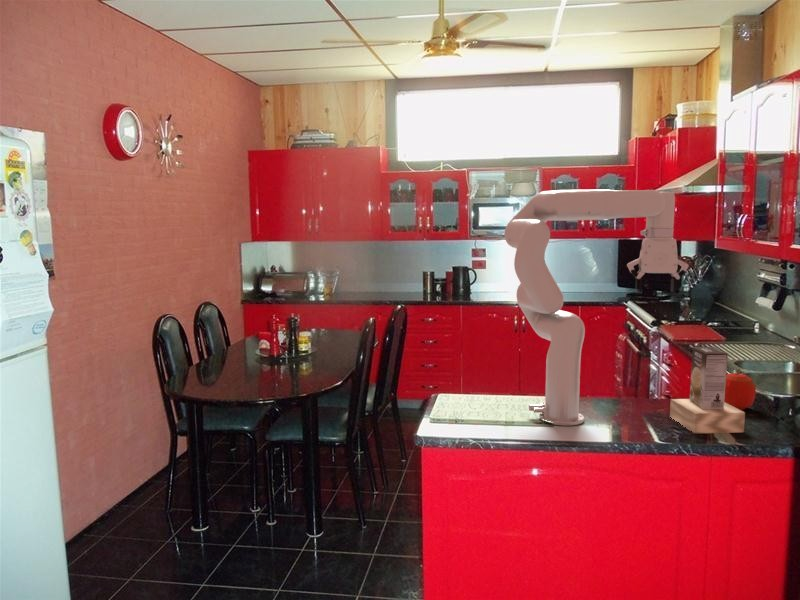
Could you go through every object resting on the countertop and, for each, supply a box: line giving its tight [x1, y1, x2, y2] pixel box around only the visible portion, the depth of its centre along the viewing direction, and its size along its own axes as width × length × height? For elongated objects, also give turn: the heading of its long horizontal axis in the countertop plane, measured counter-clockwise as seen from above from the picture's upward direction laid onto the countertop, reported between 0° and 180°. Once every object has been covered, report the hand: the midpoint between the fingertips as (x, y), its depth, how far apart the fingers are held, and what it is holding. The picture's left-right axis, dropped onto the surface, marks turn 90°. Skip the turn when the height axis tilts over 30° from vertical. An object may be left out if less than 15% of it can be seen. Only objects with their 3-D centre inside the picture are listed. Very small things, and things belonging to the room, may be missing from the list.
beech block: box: [669, 398, 746, 434], centre depth 184 cm, size 14×14×6 cm
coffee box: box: [689, 346, 729, 410], centre depth 183 cm, size 9×6×16 cm
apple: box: [724, 372, 757, 411], centre depth 200 cm, size 10×10×12 cm
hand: (656, 292), depth 193 cm, fingers open, 9 cm apart
